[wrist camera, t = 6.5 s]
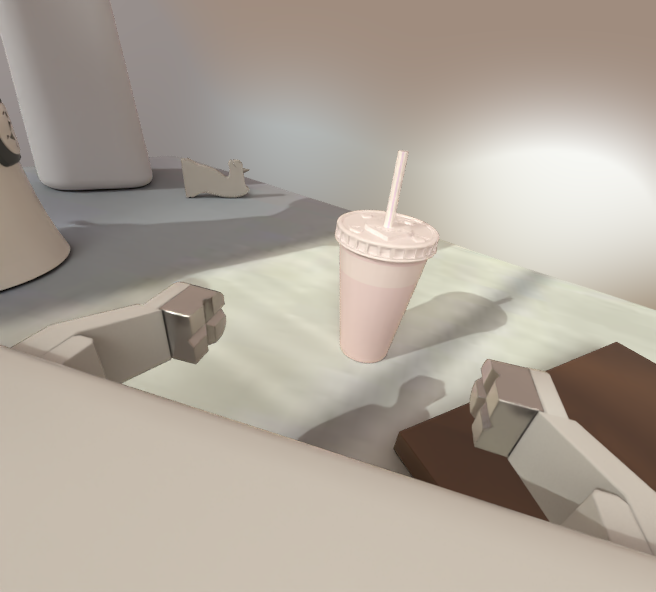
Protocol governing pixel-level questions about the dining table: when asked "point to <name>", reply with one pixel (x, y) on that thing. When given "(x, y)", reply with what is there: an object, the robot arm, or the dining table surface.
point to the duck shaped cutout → (213, 179)
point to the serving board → (580, 405)
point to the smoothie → (379, 271)
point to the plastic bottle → (74, 94)
